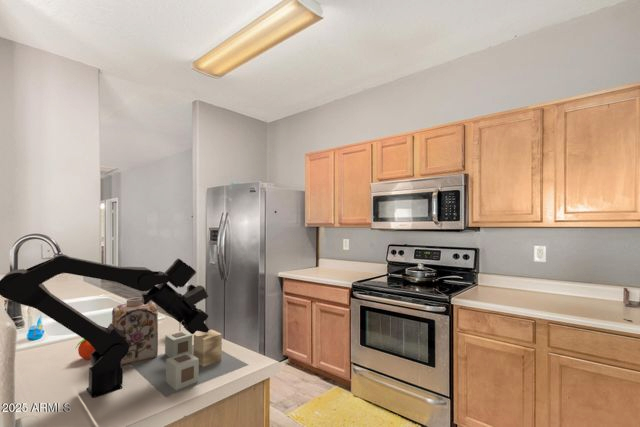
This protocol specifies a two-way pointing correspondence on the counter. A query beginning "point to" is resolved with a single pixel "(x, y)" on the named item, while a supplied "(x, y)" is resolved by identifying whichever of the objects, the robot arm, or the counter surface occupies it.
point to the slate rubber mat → (156, 372)
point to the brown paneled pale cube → (178, 344)
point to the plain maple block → (208, 347)
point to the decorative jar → (138, 328)
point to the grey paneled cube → (182, 370)
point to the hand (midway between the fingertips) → (207, 331)
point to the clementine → (85, 349)
